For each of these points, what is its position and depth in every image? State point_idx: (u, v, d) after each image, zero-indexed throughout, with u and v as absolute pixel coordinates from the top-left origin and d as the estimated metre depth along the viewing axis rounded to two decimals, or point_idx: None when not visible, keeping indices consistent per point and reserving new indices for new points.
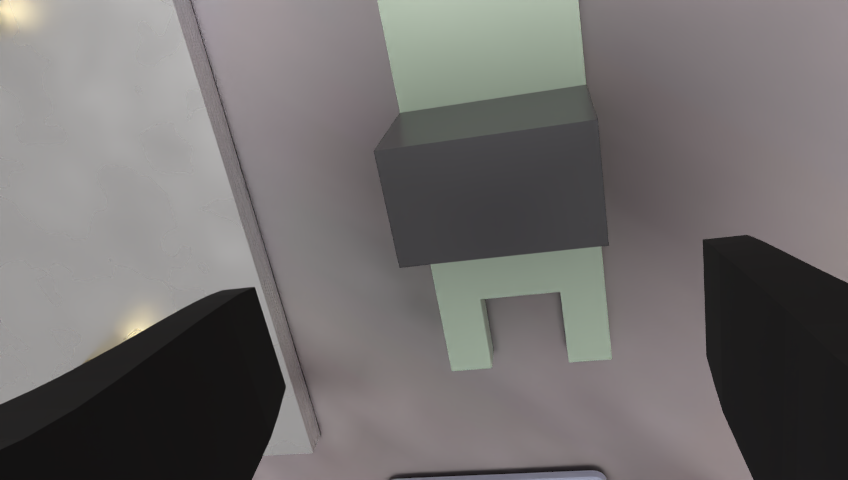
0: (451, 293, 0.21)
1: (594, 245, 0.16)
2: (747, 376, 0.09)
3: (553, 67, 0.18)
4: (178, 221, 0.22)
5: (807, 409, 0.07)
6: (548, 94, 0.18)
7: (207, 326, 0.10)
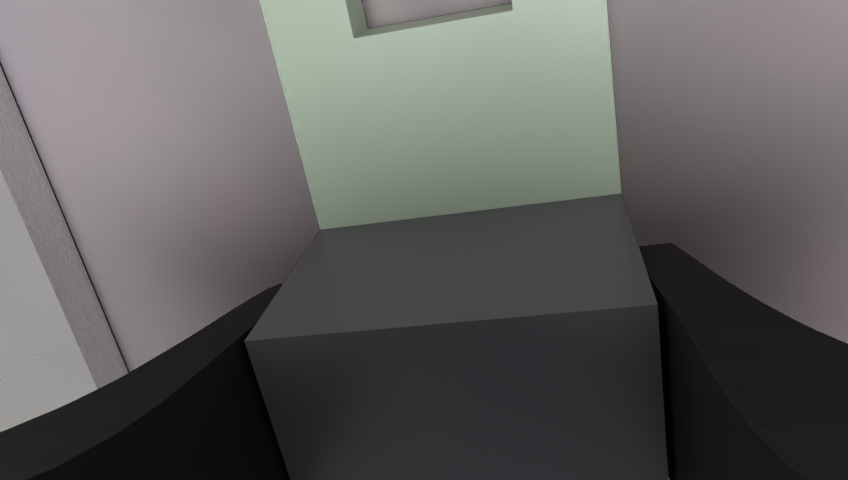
0: None
1: None
2: None
3: (567, 164, 0.11)
4: (1, 373, 0.14)
5: (696, 415, 0.07)
6: (559, 213, 0.11)
7: None
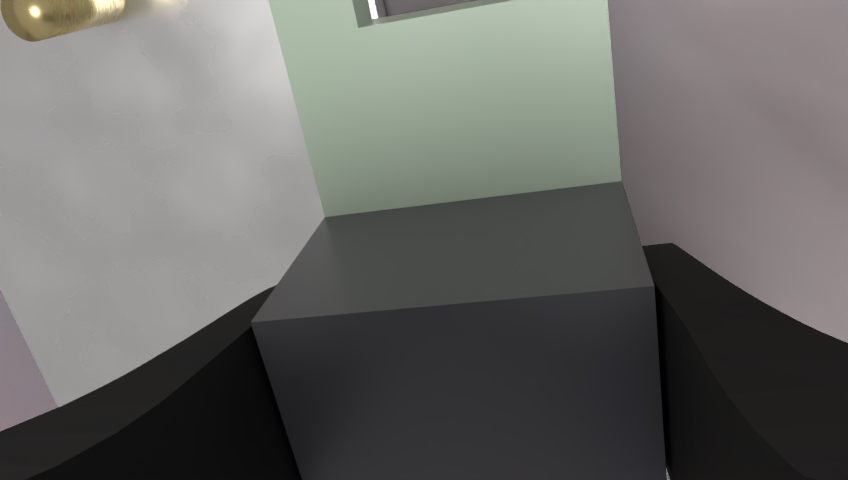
0: None
1: None
2: (661, 382, 0.09)
3: (567, 153, 0.11)
4: None
5: (697, 415, 0.07)
6: (560, 200, 0.11)
7: None
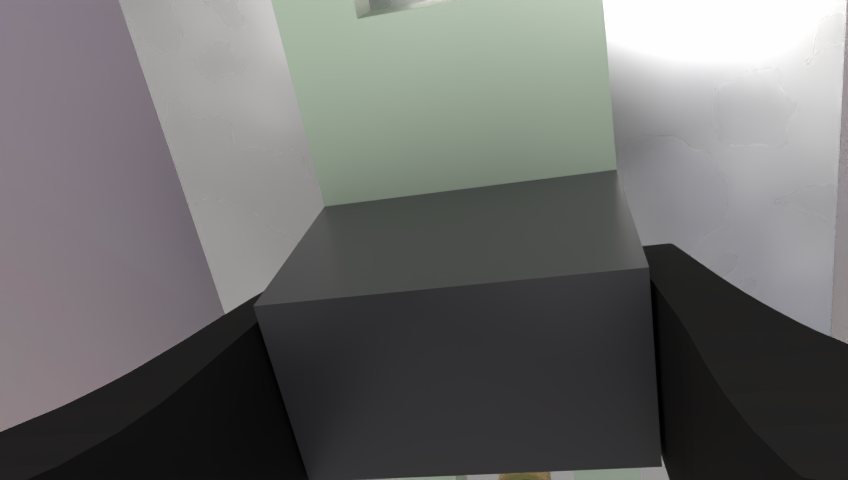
0: None
1: (636, 463, 0.09)
2: (661, 381, 0.09)
3: (564, 142, 0.11)
4: (731, 218, 0.15)
5: (696, 415, 0.07)
6: (556, 188, 0.11)
7: None
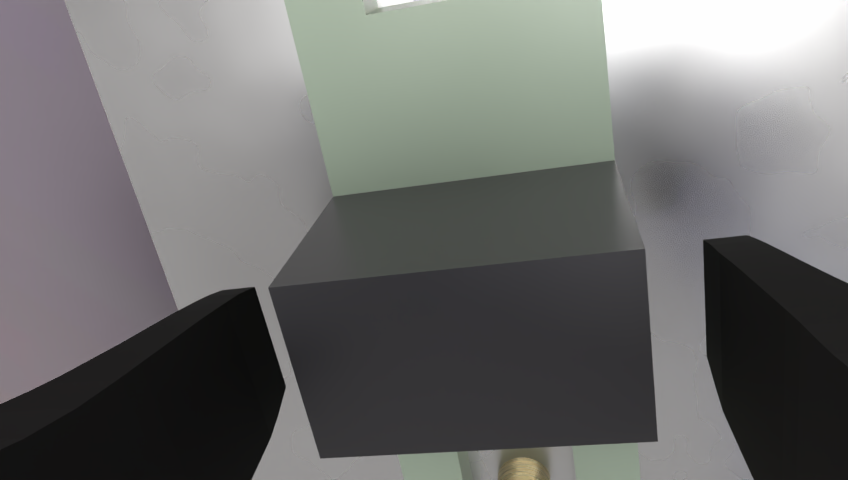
0: None
1: (634, 438, 0.10)
2: (748, 376, 0.09)
3: (564, 133, 0.12)
4: None
5: (807, 409, 0.07)
6: (556, 177, 0.11)
7: (207, 326, 0.10)
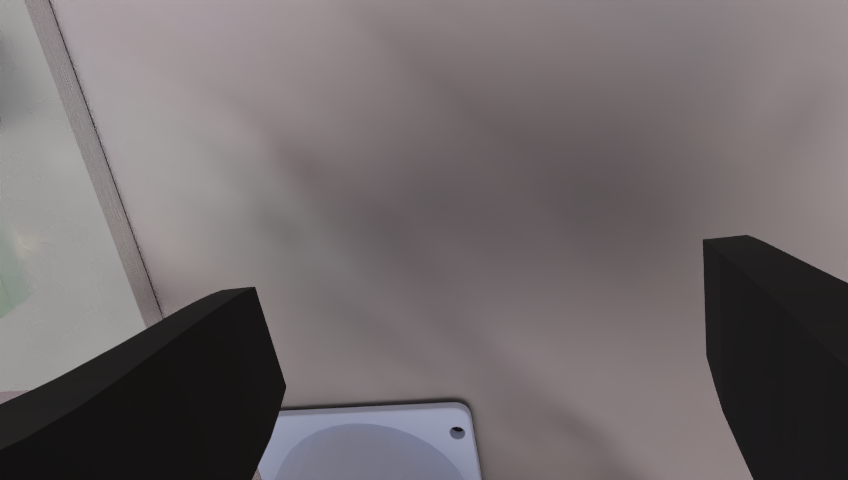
0: None
1: None
2: (747, 375, 0.09)
3: None
4: (6, 124, 0.20)
5: (807, 409, 0.07)
6: None
7: (207, 326, 0.10)
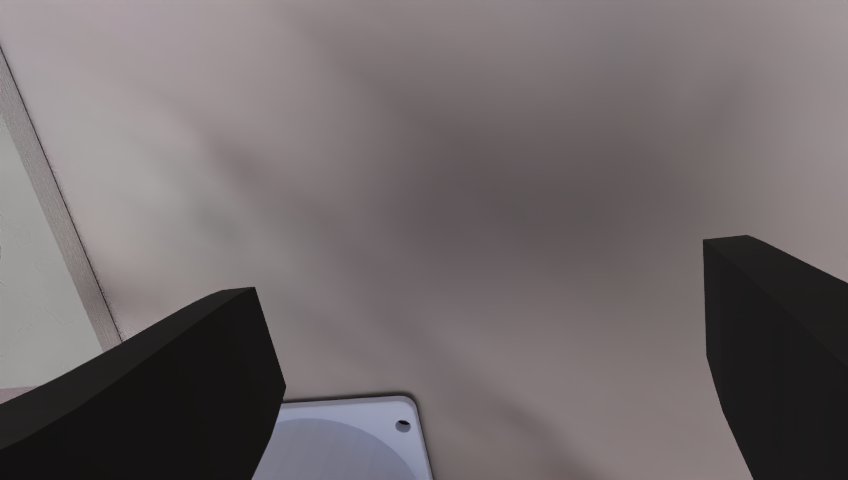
0: None
1: None
2: (747, 376, 0.09)
3: None
4: None
5: (807, 409, 0.07)
6: None
7: (207, 326, 0.10)
